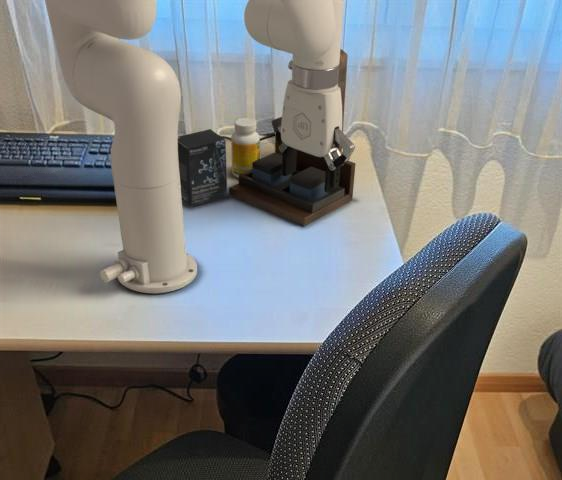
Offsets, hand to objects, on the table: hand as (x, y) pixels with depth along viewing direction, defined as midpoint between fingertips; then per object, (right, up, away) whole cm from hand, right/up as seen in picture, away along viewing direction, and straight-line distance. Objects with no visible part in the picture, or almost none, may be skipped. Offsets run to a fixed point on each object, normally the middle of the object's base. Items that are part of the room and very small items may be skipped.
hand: (309, 181), depth 133 cm
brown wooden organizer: (-3, -1, +5) cm, 6 cm away
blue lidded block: (0, -2, +2) cm, 3 cm away
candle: (+3, +11, +17) cm, 20 cm away
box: (-20, -1, +5) cm, 20 cm away
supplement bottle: (-12, +6, +12) cm, 18 cm away
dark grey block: (-7, +2, +6) cm, 9 cm away
